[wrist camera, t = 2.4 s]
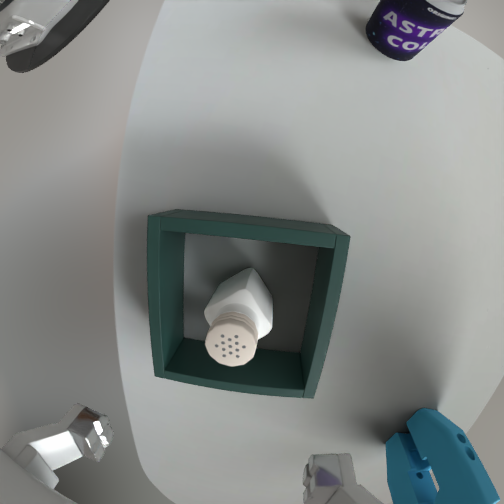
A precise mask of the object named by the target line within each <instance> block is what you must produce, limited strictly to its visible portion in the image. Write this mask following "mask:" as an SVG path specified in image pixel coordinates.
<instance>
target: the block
mask: <svg viewBox="0 0 504 504" xmlns="http://www.w3.org/2000/svg"><path fill="white" fill-rule="evenodd" d="M406 424H407V426H408V429H409V431H410V433H409V434H405V433H397V432H396V433H395V434H394V435H393V436H392V437H391V438H390V439H389V440H388V441H387V442H386V459H387V482H388V486H389V489H390V493H391V497H392V500H393V504H496V503H497V502H498V501H499V500H500V498H499V496H498V494H497V492H496V489H495V488H494V486H493V484H492V482H491V480H490V478H489V476H488V474H487V472H486V470H485V468H484V466H483V465H482V463H481V461H480V459H479V457H478V456H477V454H476V452H475V450H474V448H473V447H472V445H471V443H470V442H469V440H468V438H467V437H466V435H465V433H464V432H463V430H462V429H460V428H459V427H458V426H456V425H455V424H454V423H453V422H451V421H450V420H449V419H447V418H446V417H445V416H444V415H442V414H441V413H440V412H438V411H437V410H432V409H427V408H422V409H419V410H418V411H417V412H416V413H415V414H414V415H413V416H412V417H411V418H410V419H409V420H408V421H407V423H406ZM431 469H432V471H433V473H434V475H435V478H436V481H437V483H438V485H439V491H438V493H437V490H436V488H435V485H434V483H433V480H432V477H431V475H430V472H429V470H431Z"/></svg>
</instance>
